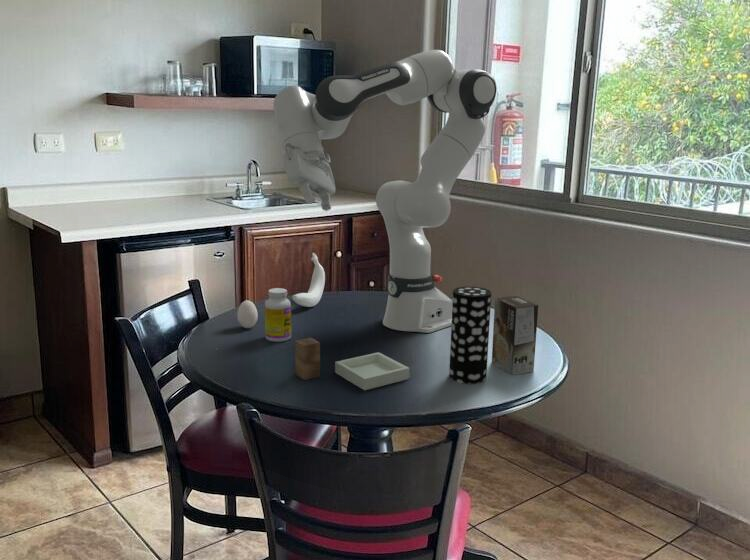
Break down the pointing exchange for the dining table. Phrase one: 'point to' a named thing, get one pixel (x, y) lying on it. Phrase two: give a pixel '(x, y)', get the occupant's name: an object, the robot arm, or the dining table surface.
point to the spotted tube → (469, 334)
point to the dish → (372, 370)
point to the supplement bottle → (277, 316)
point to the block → (307, 358)
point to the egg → (247, 314)
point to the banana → (313, 286)
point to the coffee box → (514, 334)
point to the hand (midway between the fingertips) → (319, 206)
